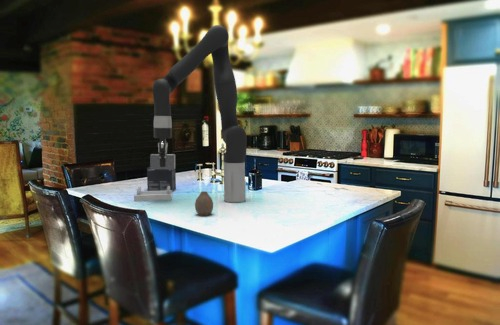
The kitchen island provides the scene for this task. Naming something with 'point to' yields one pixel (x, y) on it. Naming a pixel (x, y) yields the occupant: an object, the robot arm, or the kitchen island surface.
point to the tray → (153, 195)
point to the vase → (204, 204)
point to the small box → (161, 179)
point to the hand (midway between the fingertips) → (162, 165)
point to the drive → (168, 161)
